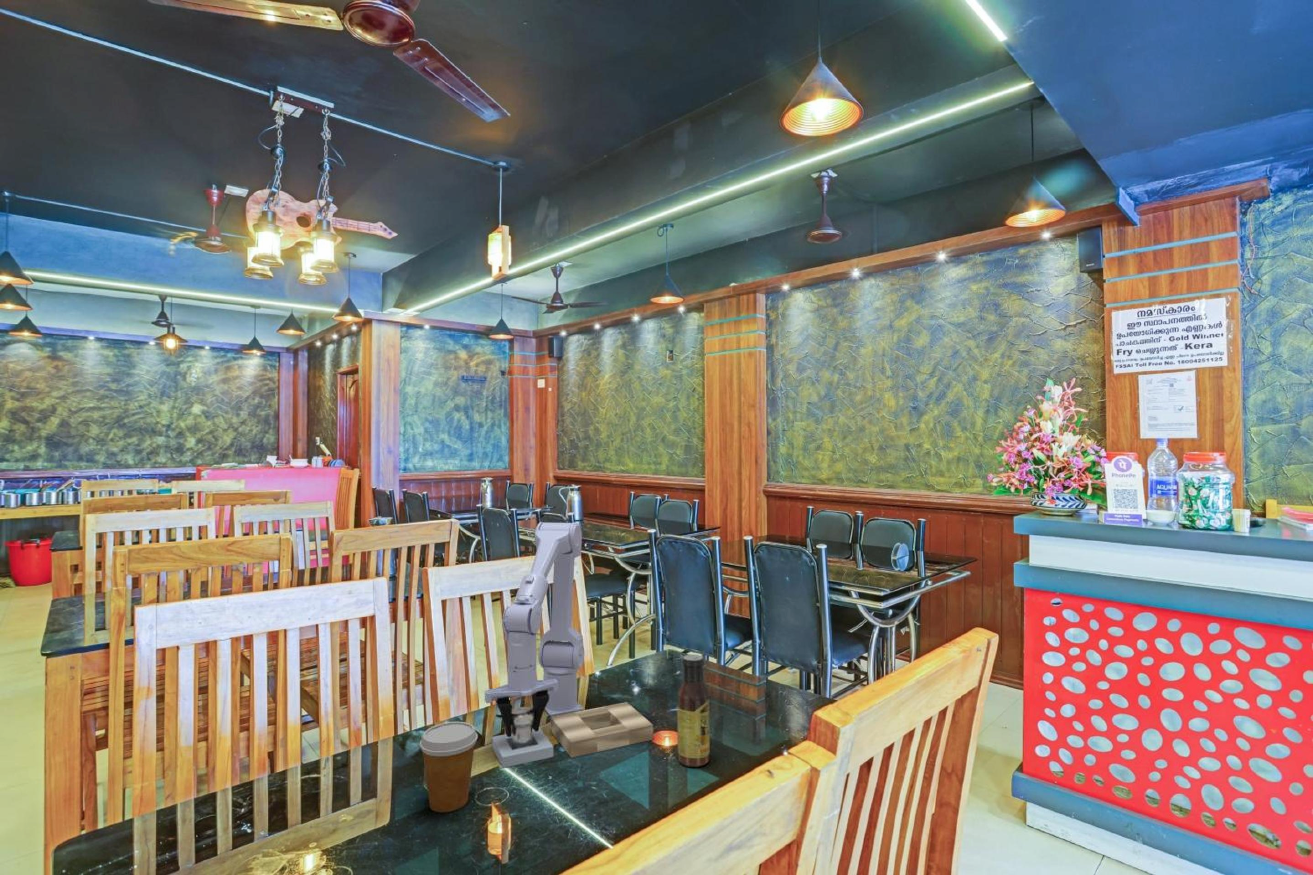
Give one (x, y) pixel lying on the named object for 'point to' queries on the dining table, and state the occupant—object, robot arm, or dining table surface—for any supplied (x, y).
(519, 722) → the steel pin
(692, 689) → the sauce bottle
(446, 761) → the disposable coffee cup
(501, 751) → the frame
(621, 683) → the dining table surface
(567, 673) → the robot arm
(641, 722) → the dock
